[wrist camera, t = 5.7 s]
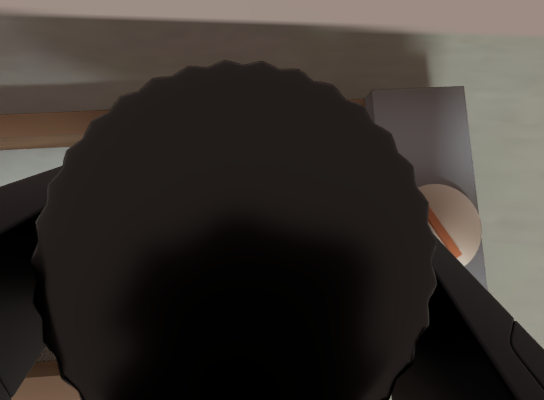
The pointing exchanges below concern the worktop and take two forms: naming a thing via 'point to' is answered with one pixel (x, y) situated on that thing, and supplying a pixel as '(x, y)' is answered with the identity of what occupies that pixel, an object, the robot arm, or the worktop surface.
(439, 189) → the wooden frame
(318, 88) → the supplement bottle
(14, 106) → the worktop surface
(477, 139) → the worktop surface
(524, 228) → the worktop surface
